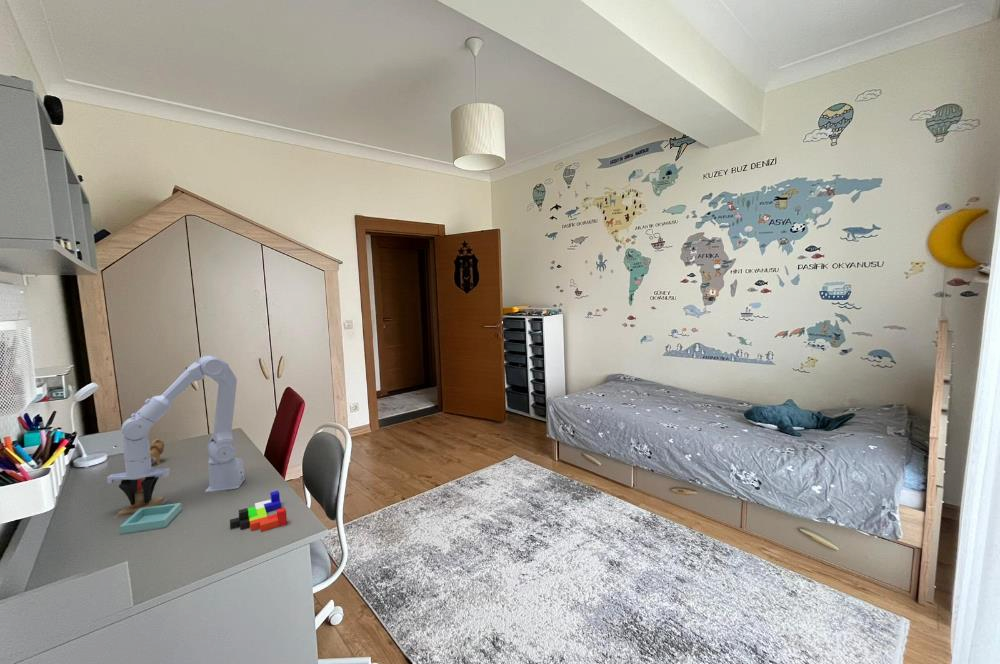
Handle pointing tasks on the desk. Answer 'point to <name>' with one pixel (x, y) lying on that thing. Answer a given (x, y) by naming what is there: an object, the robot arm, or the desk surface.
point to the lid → (139, 504)
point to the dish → (151, 518)
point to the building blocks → (261, 515)
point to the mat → (131, 515)
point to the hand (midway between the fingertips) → (141, 502)
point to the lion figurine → (156, 450)
